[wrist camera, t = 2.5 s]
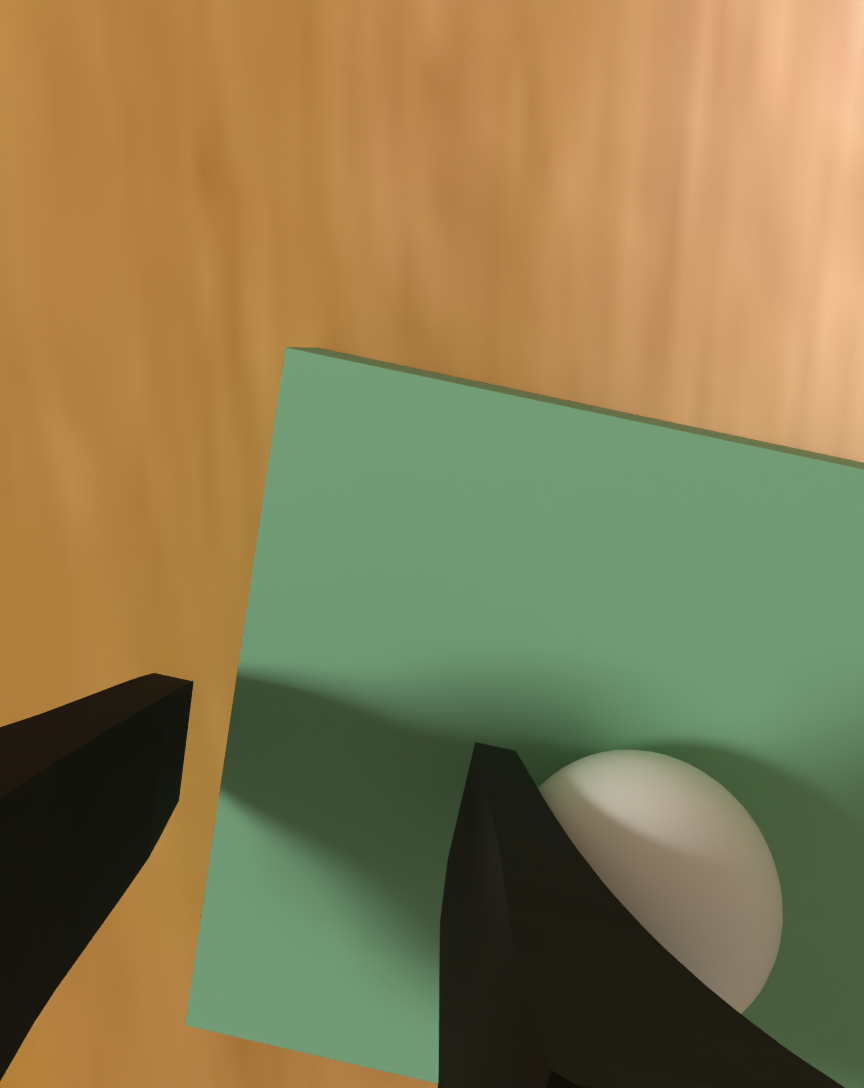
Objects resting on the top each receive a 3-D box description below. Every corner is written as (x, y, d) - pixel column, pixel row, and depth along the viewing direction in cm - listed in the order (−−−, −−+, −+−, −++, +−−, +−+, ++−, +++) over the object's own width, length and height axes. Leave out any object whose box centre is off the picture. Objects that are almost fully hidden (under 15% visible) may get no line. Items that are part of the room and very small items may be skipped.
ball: (675, 919, 13) (788, 1134, 9) (464, 893, 12) (499, 1107, 9) (737, 724, 12) (887, 878, 8) (514, 688, 12) (574, 835, 8)
